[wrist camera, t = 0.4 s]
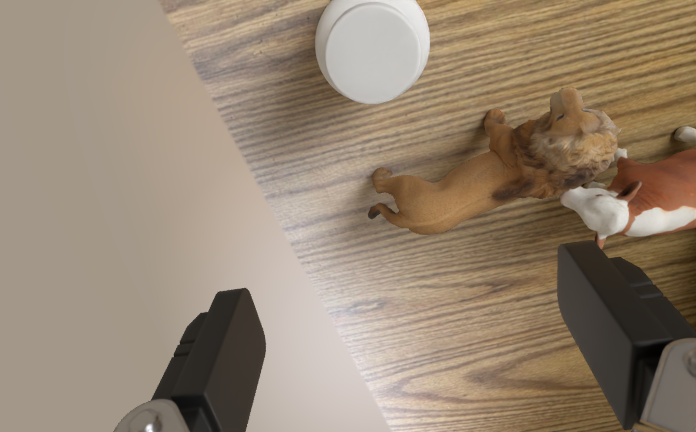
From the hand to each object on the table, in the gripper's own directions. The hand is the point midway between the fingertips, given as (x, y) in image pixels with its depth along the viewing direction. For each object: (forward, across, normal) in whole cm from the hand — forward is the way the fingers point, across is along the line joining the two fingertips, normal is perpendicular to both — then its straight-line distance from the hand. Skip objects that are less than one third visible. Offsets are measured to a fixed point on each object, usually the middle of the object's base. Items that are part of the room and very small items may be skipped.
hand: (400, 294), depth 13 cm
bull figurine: (+20, -16, +7) cm, 27 cm away
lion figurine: (+20, -5, +4) cm, 21 cm away
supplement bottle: (+20, 0, -4) cm, 21 cm away
